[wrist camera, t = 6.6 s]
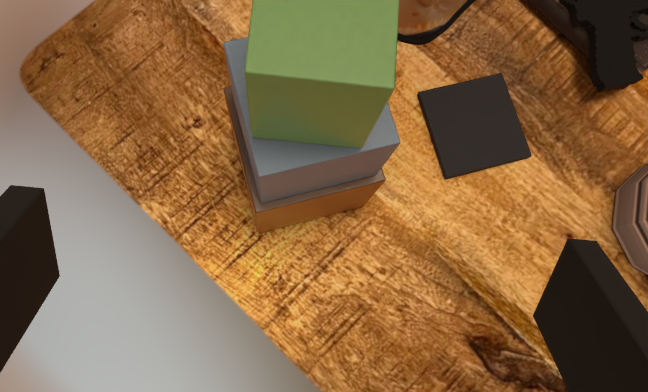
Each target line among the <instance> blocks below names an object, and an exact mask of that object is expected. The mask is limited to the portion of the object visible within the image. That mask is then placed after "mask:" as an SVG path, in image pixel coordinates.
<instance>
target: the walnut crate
mask: <svg viewBox="0 0 648 392" xmlns="http://www.w3.org/2000/svg"><path fill="white" fill-rule="evenodd" d="M224 94H225V99H226V104H227V108H228V113H229V118H230V123H231V127H232V132H233V136H234V140H235V144H236V148H237V152H238V155H239V159H240V163H241V167H242V171H243V175H244V179H245V183H246V187H247V191H248V194H249V198H250V202H251V206H252V210H253V214H254V218H255V222H256V226H257V230H258V233H263V232H267V231H271V230H274V229H278V228H282V227H286V226H290V225H294V224H298V223H301V222H305V221H309V220H313V219H317V218H321V217H325V216H328V215H332V214H336V213H340V212H344V211H348V210H352V209H355V208H359V207H363V206H364V205H365V204H366V202H367V201H368V200H369V199H370V198H371V197H372V195H373V194H374V193H375V192H376V191H377V189H378V188H379V187H380V186H381V185H382V184H383V182H384V181H385V177H384V173H383V170H382V168H381V169H380V171H379V172H378V173H377V175H374V176H370V177H366V178H362V179H358V180H354V181H350V182H346V183H342V184H338V185H334V186H330V187H326V188H322V189H318V190H314V191H310V192H306V193H302V194H298V195H294V196H290V197H286V198H282V199H278V200H274V201H270V202H266V203H263V204H262V203H261V202H260V198H259V194H258V190H257V187H256V183H255V179H254V175H253V171H252V167H251V163H250V160H249V156H248V152H247V148H246V144H245V140H244V137H243V133H242V129H241V125H240V121H239V117H238V113H237V110H236V106H235V102H234V98H233V94H232V89H231V86H229V87H225V88H224Z"/></svg>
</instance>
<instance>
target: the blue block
mask: <svg viewBox="0 0 648 392" xmlns="http://www.w3.org/2000/svg"><path fill="white" fill-rule="evenodd" d="M247 44H248V37H246V38H241V39H236V40H232V41H227V42H224V49H225V55H226V60H227V66H228V72H229V78H230V83H231V89H232V94H233V98H234V102H235V106H236V110H237V113H238V117H239V121H240V125H241V129H242V133H243V137H244V140H245V144H246V148H247V152H248V156H249V160H250V163H251V167H252V171H253V175H254V179H255V183H256V187H257V190H258V194H259V198H260V202H261V203H262V204H263V203H266V202H270V201H274V200H278V199H282V198H286V197H290V196H294V195H298V194H302V193H306V192H310V191H314V190H318V189H322V188H326V187H330V186H334V185H338V184H342V183H346V182H350V181H354V180H358V179H362V178H366V177H370V176H374V175H377V173H378V172H379V171H380V169H381V168H382V167H383V165H384V164H385V163H386V161H387V160H388V159H389V157H390V156H391V155H392V153H393V152H394V151H395V149H396V148H397V147H398V145H399V144H400V139H399V136H398V133H397V130H396V126H395V123H394V120H393V117H392V114H391V111H390V107H389V104H388V101H387V103H386V105H385V107H384V109H383V111H382V112H381V114H380V116H379V118H378V120H377V122H376V123H375V125H374V127H373V129H372V131H371V133H370V134H369V136H368V138H367V140H366V142H365V144H364V146H363V147H362V148H361V149H360V148H350V147H340V146H331V145H321V144H311V143H302V142H292V141H282V140H273V139H263V138H253V137H252V136H251V127H250V118H249V109H248V100H247V91H246V82H245V73H244V69H245V61H246V52H247Z"/></svg>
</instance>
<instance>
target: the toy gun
mask: <svg viewBox="0 0 648 392" xmlns="http://www.w3.org/2000/svg"><path fill="white" fill-rule="evenodd" d="M559 2H560V4H561V5H562V4H563V6H566V8H567V9H568V12H569V14H570V17H571V18H570V19H569V20H570V22H571V25H572V27H577V26H581V28H582V27H584V29H585V31H588V34H589V37H588V39H589V42H590V43H589V44H588V45H589V48H588V50H589V53H590V54H589V55H588V56H589V58H590V59H589V60H588V61H589V64H590V66H589V70H590V73H589V75H590V78H591V80H592V83H593V85H594V86H596V87H597V89H598V92H602V91H606V90H610V89H614V88H618V87H622V86H626V85H630V84H634V83H636V82H638V81H640V80H641V79H643V76H642V74H639V72H638V69H637V67H636V65H635V64H637V61H636V59H635V57H634V55H635V51H634V49H633V47H632V46H634V44H633V41H632V40H634V39H635V41H638V40H642V39H646V38H648V25H647V26H646V24H643V22H641V23H640V20H639V18H638V17H639V16H640V15H639V14H643V13H646V15H648V0H559ZM631 23H632V24H633V26H634V27H636V28H637V29H638V28H639V30H643V29H644V31H647V32H642V33H640V31H639V30H638V31H635V30H634V29H632V28H631V26H630V24H631Z"/></svg>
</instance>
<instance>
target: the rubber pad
mask: <svg viewBox="0 0 648 392" xmlns="http://www.w3.org/2000/svg"><path fill="white" fill-rule="evenodd" d="M417 95H418V98H419V102H420V105H421V108H422V111H423V114H424V117H425V120H426V123H427V126H428V129H429V132H430V135H431V138H432V141H433V144H434V147H435V150H436V153H437V156H438V159H439V162H440V165H441V168H442V171H443V174H444V177H445V179H448V178H452V177H456V176H460V175H464V174H468V173H471V172H475V171H479V170H483V169H487V168H491V167H495V166H499V165H502V164H506V163H510V162H514V161H518V160H522V159H526V158H529V157H531V153H530V150H529V147H528V144H527V142H526V139H525V136H524V133H523V131H522V128H521V125H520V122H519V120H518V117H517V114H516V111H515V109H514V106H513V103H512V100H511V98H510V95H509V92H508V89H507V87H506V84H505V81H504V78H503V76H502V73H500V74H496V75H491V76H487V77H482V78H478V79H474V80H469V81H465V82H461V83H456V84H452V85H448V86H443V87H439V88H435V89H430V90H426V91H422V92H419V93H418V94H417Z"/></svg>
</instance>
